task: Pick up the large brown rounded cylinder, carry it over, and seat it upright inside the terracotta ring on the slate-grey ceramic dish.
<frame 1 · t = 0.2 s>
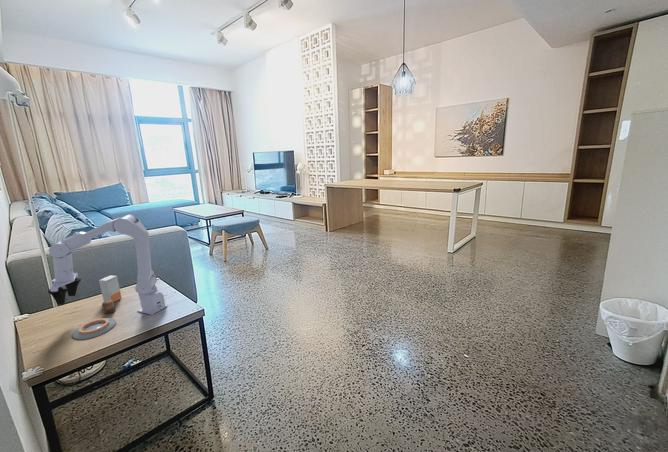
hand: (66, 299, 121), 10 cm above the table, tool pointing down, fingers open, 7 cm apart
skincare box: (113, 300, 142), on the table
ring dish: (95, 328, 118), on the table
brown rounded cylinder: (110, 312, 131), on the table
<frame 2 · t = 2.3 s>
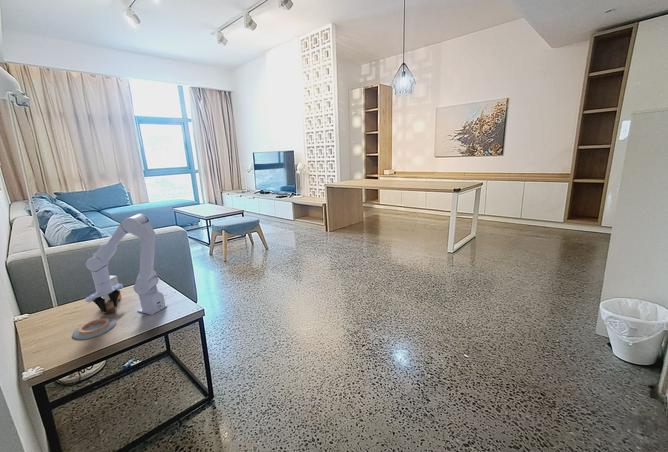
hand: (109, 309, 131), 1 cm above the table, tool pointing down, fingers closed on brown rounded cylinder, 4 cm apart
brown rounded cylinder: (110, 311, 131), on the table, touching gripper
everything else where it was.
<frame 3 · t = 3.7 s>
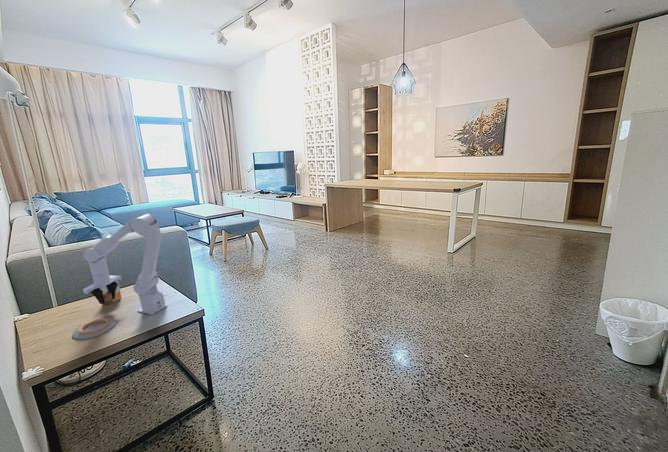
hand: (107, 301, 130), 6 cm above the table, tool pointing down, fingers closed on brown rounded cylinder, 4 cm apart
brown rounded cylinder: (108, 303, 130), point 4 cm above the table, touching gripper
everything else where it was.
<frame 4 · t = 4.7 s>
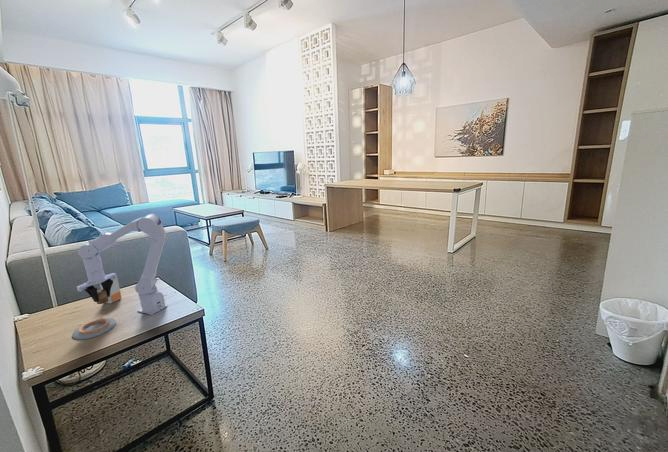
hand: (102, 298, 126), 8 cm above the table, tool pointing down, fingers closed on brown rounded cylinder, 4 cm apart
brown rounded cylinder: (102, 301, 126), point 7 cm above the table, touching gripper
everything else where it was.
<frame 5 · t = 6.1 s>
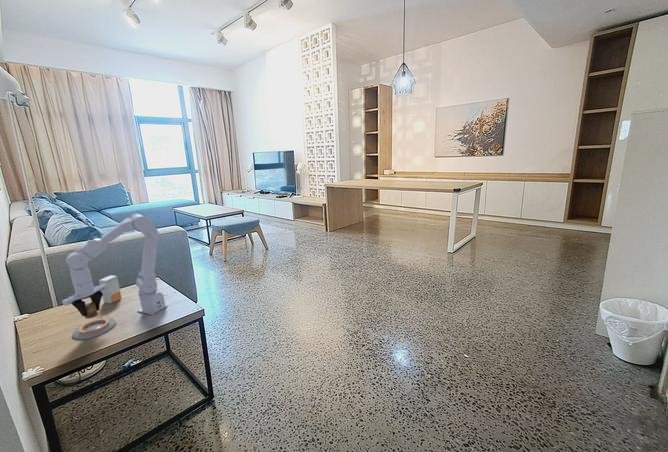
hand: (90, 312, 116), 7 cm above the table, tool pointing down, fingers closed on brown rounded cylinder, 4 cm apart
brown rounded cylinder: (91, 315, 117), point 6 cm above the table, touching gripper
everything else where it was.
when the fingers open (4 cm above the table, at t = 7.3 s): brown rounded cylinder drops 1 cm, resting on ring dish.
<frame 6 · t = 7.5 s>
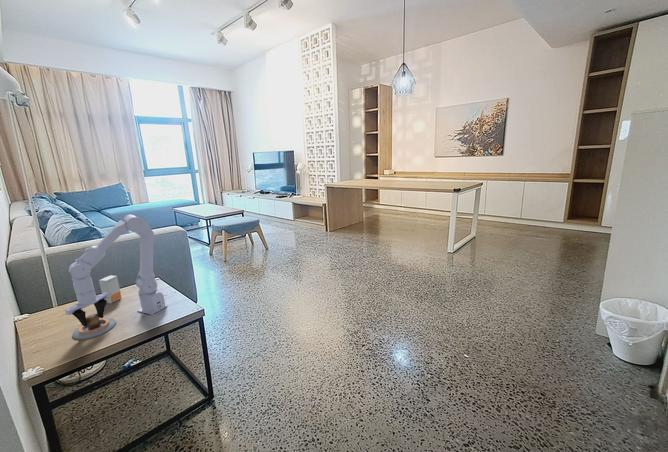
hand: (93, 321, 117), 4 cm above the table, tool pointing down, fingers open, 5 cm apart
brown rounded cylinder: (94, 327, 118), point 1 cm above the table, touching ring dish
everything else where it was.
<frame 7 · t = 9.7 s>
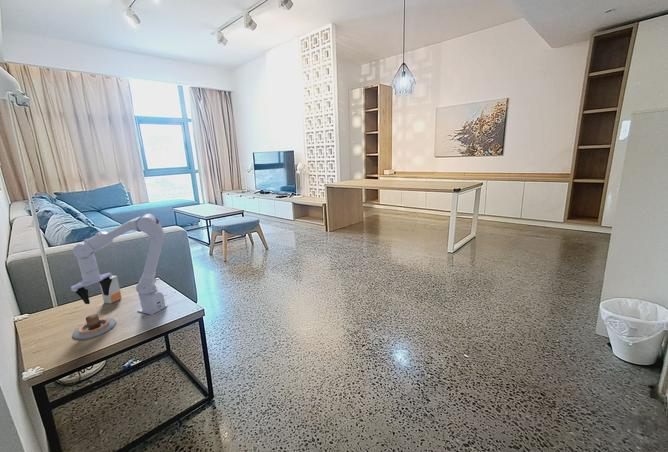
hand: (97, 299, 123), 9 cm above the table, tool pointing down, fingers open, 7 cm apart
nothing on the table moved.
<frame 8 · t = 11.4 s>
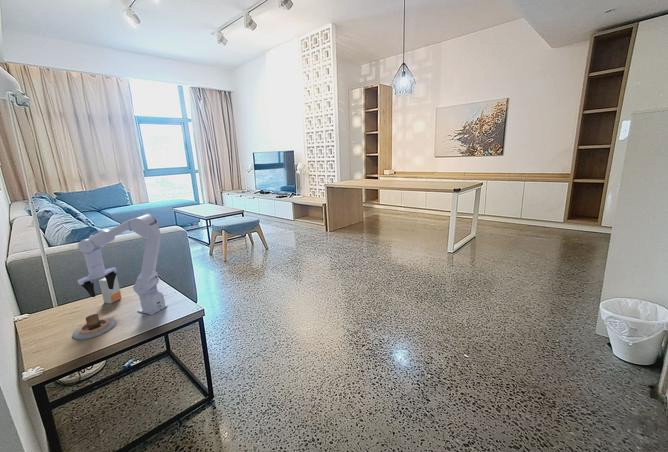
hand: (102, 292, 129), 9 cm above the table, tool pointing down, fingers open, 7 cm apart
nothing on the table moved.
at the end: brown rounded cylinder 0.1 cm off-centre on the ring dish, point 0.6 cm above the ring dish's base; brown rounded cylinder tilted 0°; the gripper is holding nothing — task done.
